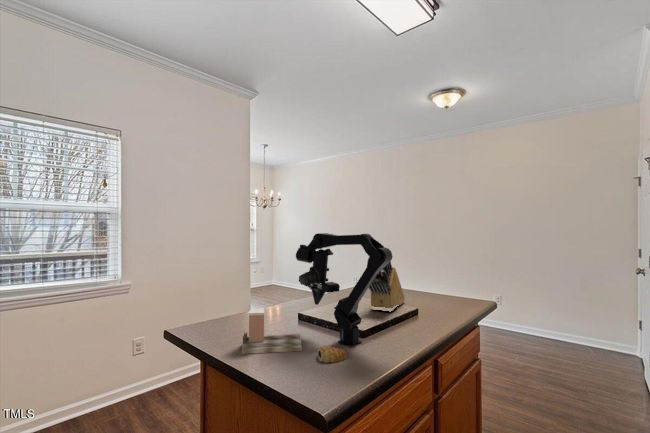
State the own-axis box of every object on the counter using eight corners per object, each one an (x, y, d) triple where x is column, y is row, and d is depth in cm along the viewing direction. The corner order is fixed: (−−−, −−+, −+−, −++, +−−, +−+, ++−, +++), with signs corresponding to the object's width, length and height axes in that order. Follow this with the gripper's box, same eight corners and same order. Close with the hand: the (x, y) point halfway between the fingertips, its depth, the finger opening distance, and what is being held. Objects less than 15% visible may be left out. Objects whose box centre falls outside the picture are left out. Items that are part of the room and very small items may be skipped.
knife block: (363, 315, 154) (363, 251, 155) (385, 300, 185) (385, 246, 186) (385, 318, 149) (385, 252, 150) (405, 302, 180) (404, 247, 181)
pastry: (342, 353, 108) (342, 342, 109) (349, 361, 102) (349, 349, 102) (315, 356, 106) (315, 344, 106) (321, 365, 99) (321, 353, 99)
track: (299, 340, 120) (299, 328, 120) (301, 350, 110) (301, 337, 110) (244, 343, 117) (245, 330, 117) (241, 353, 107) (242, 340, 107)
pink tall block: (264, 338, 116) (264, 308, 116) (263, 344, 111) (264, 312, 111) (249, 339, 115) (250, 309, 115) (248, 344, 110) (248, 313, 110)
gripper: (289, 261, 127) (286, 300, 127) (319, 271, 113) (315, 314, 113) (311, 260, 134) (308, 297, 135) (342, 269, 120) (338, 310, 121)
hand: (316, 304), depth 126 cm, fingers closed
